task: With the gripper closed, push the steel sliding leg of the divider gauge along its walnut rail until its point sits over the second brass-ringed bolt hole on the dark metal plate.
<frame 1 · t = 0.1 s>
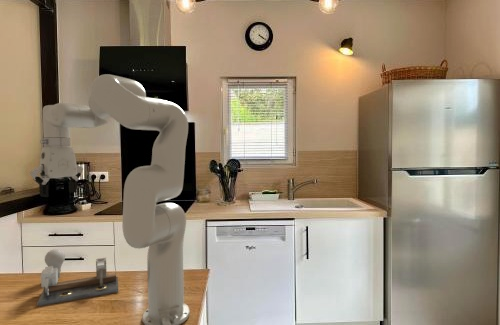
hand: (59, 194, 105), 31 cm above the kitchen island, tool pointing down, fingers open, 9 cm apart
sliding leg: (48, 279, 98), point 5 cm above the kitchen island, slide at 5.0 cm
lightbulb: (55, 280, 110), on the kitchen island
bolt plate: (81, 292, 101), on the kitchen island
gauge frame: (80, 275, 102), on the bolt plate, point 5 cm above the kitchen island
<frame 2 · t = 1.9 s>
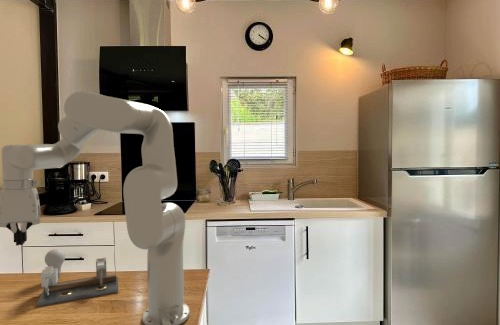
hand: (20, 243, 97), 17 cm above the kitchen island, tool pointing down, fingers closed
nothing on the kitchen island moved.
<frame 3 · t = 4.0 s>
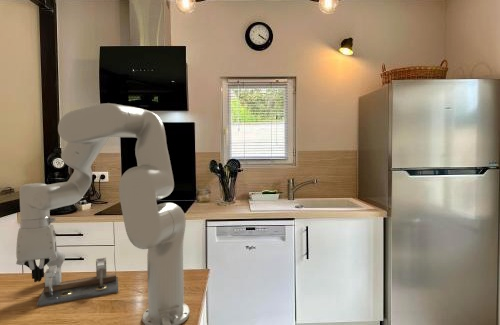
hand: (38, 280, 99), 5 cm above the kitchen island, tool pointing down, fingers closed
sliding leg: (52, 279, 99), point 5 cm above the kitchen island, slide at 4.0 cm, touching gripper
everything else where it was.
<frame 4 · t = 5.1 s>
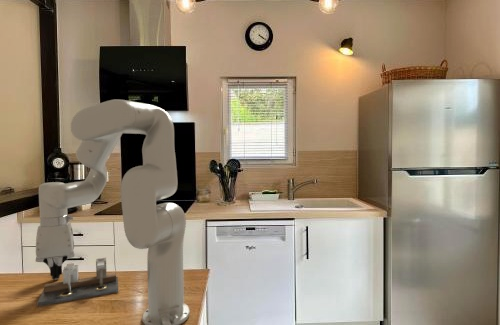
hand: (56, 277, 101), 5 cm above the kitchen island, tool pointing down, fingers closed
sliding leg: (70, 276, 101), point 5 cm above the kitchen island, slide at -0.9 cm, touching gripper
everything else where it was.
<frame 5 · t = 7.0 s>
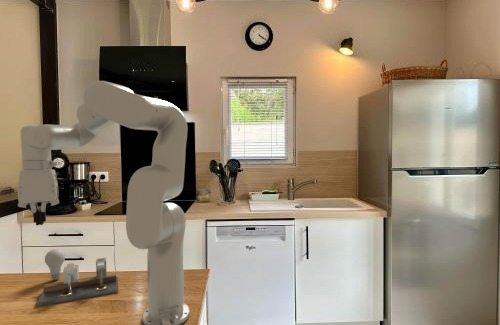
hand: (40, 224, 98), 23 cm above the kitchen island, tool pointing down, fingers closed
sliding leg: (70, 276, 101), point 5 cm above the kitchen island, slide at -1.0 cm
everything else where it was.
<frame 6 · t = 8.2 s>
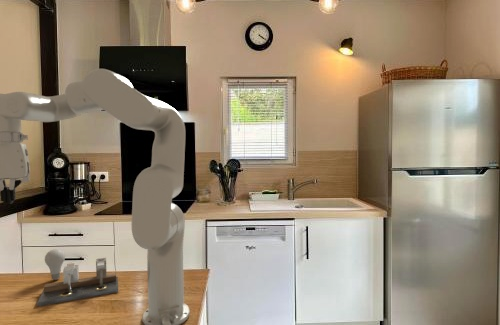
hand: (8, 203, 89), 31 cm above the kitchen island, tool pointing down, fingers closed
nothing on the kitchen island moved.
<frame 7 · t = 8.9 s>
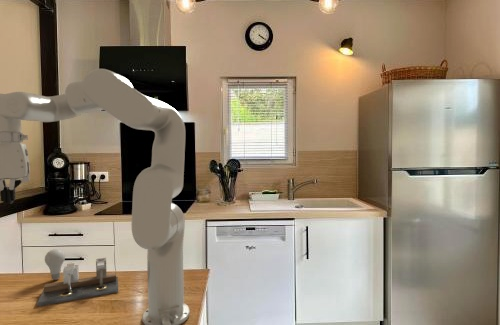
hand: (8, 203, 89), 31 cm above the kitchen island, tool pointing down, fingers closed
nothing on the kitchen island moved.
at the end: sliding leg slide at -1.0 cm; lightbulb moved 0.2 cm from its start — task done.
